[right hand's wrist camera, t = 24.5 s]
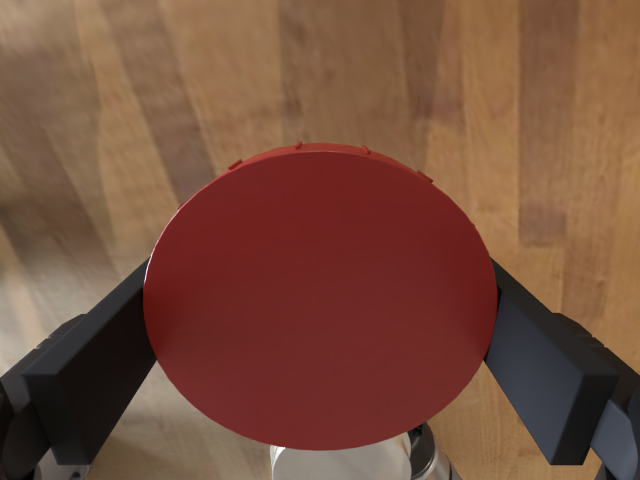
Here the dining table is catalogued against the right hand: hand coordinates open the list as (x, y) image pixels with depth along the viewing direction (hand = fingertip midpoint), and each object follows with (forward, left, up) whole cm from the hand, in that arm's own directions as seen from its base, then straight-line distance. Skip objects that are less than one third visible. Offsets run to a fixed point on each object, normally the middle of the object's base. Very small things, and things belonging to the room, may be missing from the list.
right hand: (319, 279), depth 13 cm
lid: (0, 0, +3) cm, 3 cm away
